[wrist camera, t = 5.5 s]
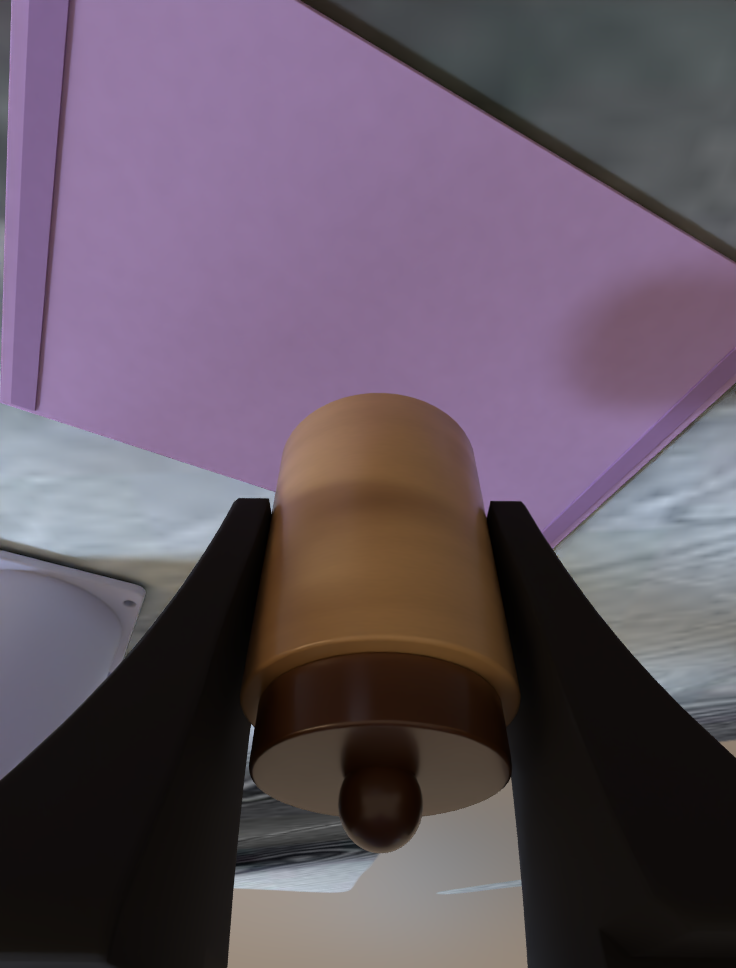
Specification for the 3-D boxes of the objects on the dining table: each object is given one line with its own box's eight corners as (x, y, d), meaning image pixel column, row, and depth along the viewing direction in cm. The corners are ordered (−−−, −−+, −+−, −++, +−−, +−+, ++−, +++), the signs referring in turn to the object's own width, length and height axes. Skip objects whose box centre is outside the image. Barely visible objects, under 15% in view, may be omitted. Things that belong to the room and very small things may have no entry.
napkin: (524, 567, 24) (525, 575, 24) (3, 397, 18) (-2, 404, 18) (809, 306, 16) (816, 312, 15) (23, -167, 10) (13, -171, 9)
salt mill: (415, 553, 15) (439, 898, 10) (256, 502, 14) (179, 868, 8) (514, 436, 12) (625, 831, 7) (325, 359, 11) (280, 770, 6)
